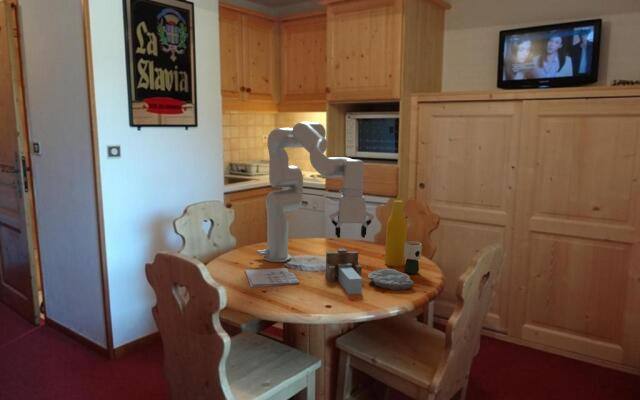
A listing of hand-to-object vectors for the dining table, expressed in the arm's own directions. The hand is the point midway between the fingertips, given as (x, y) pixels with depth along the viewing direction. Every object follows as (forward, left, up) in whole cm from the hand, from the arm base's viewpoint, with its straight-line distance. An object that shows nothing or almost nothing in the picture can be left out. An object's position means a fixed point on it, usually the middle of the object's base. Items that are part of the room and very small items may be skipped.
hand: (350, 237), depth 180 cm
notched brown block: (0, +10, -20) cm, 22 cm away
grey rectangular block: (0, 0, -20) cm, 20 cm away
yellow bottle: (+28, +27, -20) cm, 44 cm away
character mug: (+31, +14, -20) cm, 39 cm away
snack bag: (-29, +14, -21) cm, 38 cm away
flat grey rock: (+17, +2, -20) cm, 27 cm away
